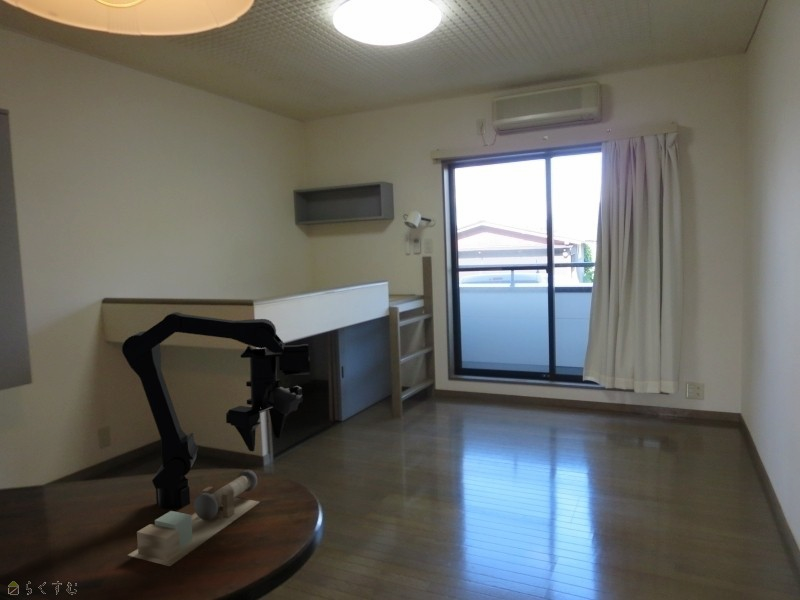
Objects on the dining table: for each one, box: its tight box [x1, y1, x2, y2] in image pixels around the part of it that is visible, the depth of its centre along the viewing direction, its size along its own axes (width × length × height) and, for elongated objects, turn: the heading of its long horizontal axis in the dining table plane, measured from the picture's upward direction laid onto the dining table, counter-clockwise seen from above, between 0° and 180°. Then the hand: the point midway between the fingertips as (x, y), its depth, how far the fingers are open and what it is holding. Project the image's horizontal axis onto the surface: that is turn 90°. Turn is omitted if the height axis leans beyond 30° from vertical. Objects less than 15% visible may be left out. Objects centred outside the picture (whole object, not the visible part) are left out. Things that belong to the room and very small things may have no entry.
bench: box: [127, 486, 261, 567], centre depth 108 cm, size 10×26×6 cm, turn 158°
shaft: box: [193, 469, 258, 520], centre depth 116 cm, size 5×15×5 cm, turn 158°
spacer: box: [154, 510, 193, 548], centre depth 102 cm, size 5×4×5 cm
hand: (265, 444), depth 121 cm, fingers open, 9 cm apart
